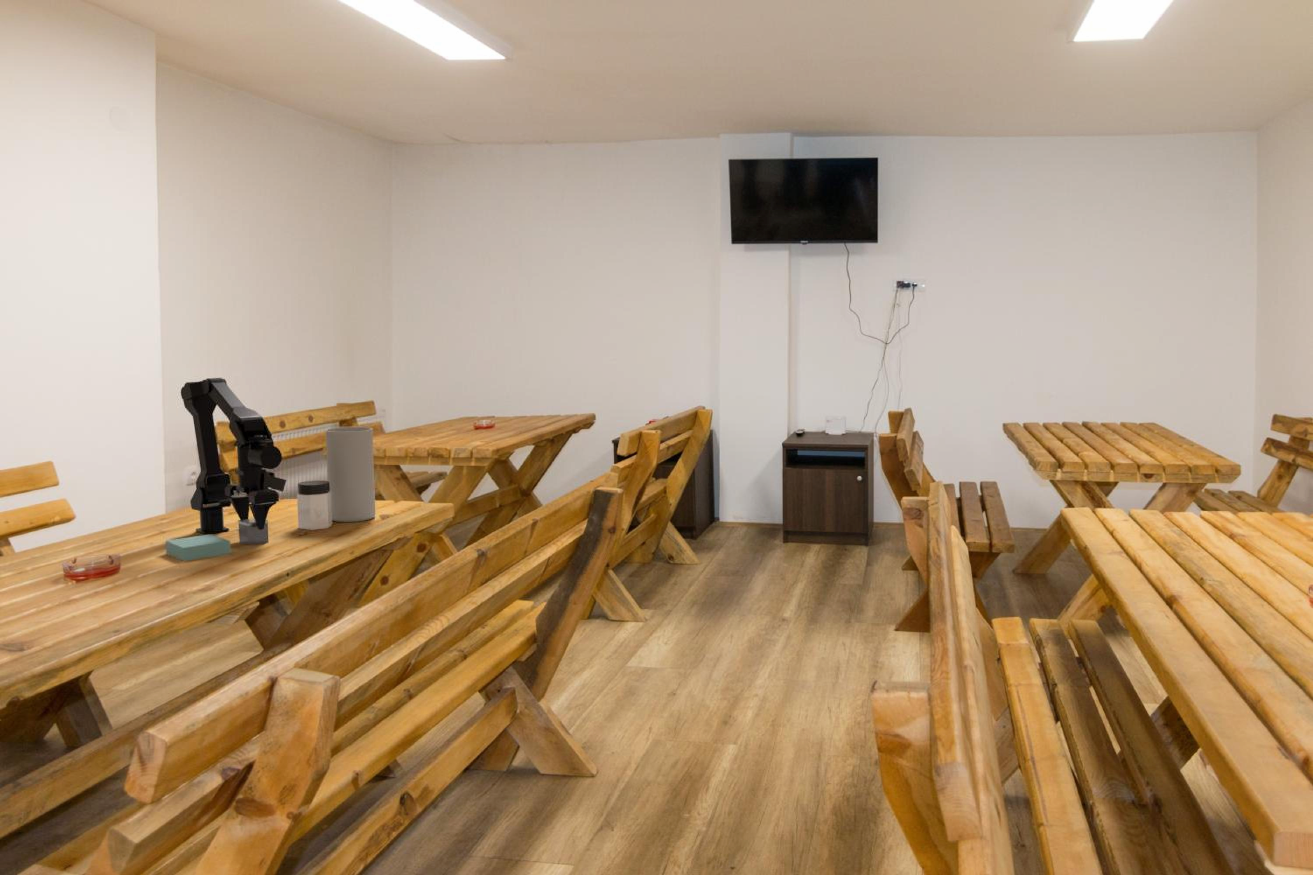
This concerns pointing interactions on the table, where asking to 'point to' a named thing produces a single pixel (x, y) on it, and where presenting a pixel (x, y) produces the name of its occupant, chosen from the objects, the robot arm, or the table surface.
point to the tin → (252, 532)
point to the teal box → (197, 547)
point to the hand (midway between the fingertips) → (253, 526)
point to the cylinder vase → (351, 473)
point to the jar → (314, 505)
